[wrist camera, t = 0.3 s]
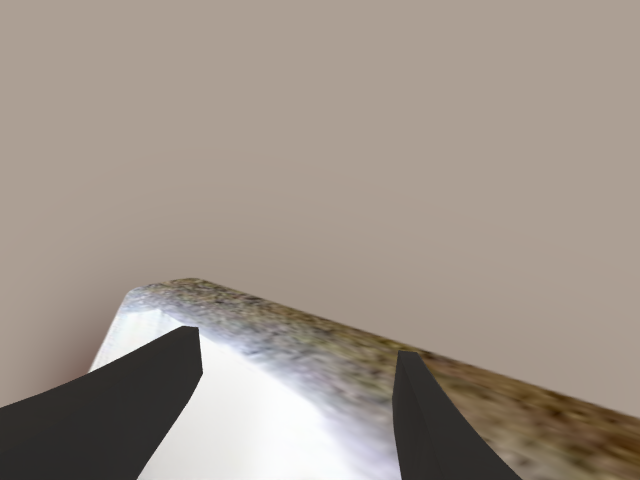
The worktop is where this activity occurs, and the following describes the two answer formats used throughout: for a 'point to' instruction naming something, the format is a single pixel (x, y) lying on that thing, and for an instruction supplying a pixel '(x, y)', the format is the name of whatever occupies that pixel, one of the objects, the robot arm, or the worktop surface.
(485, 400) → the worktop surface
